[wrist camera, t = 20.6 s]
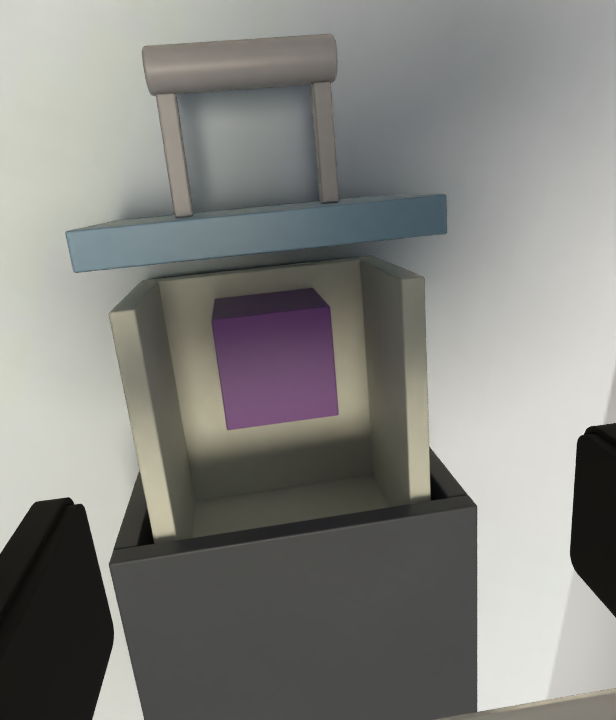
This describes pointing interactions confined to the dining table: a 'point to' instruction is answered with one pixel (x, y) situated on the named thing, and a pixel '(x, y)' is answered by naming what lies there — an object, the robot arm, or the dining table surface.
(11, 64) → the dining table surface
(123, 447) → the dining table surface
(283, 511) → the drawer
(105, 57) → the dining table surface
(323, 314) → the cube
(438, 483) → the grey drawer cabinet
